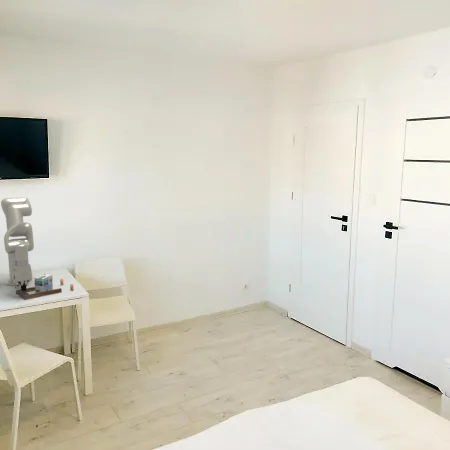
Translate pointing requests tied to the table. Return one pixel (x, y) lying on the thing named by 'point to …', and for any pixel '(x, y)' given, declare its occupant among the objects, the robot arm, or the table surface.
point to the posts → (70, 284)
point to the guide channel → (37, 293)
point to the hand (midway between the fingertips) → (23, 290)
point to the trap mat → (22, 295)
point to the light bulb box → (43, 283)
